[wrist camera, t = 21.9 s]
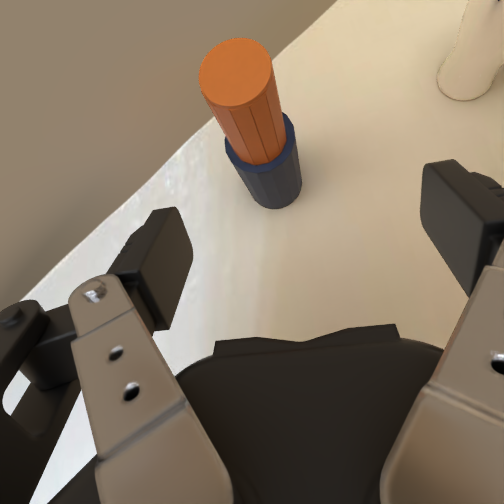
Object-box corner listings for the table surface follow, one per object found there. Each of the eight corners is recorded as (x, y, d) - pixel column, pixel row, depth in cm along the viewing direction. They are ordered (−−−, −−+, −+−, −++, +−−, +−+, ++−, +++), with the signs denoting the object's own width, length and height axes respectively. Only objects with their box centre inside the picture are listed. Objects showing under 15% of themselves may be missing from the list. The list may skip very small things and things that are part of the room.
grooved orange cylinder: (282, 109, 32) (266, 29, 23) (289, 159, 31) (275, 96, 22) (230, 120, 33) (195, 47, 24) (236, 169, 32) (201, 113, 23)
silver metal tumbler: (429, 57, 42) (485, -75, 28) (491, 46, 41) (585, -97, 27) (436, 108, 41) (499, -1, 27) (501, 99, 40) (604, -20, 25)
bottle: (298, 154, 44) (284, 66, 28) (305, 204, 42) (295, 141, 27) (247, 164, 45) (206, 85, 29) (253, 212, 44) (213, 158, 28)
